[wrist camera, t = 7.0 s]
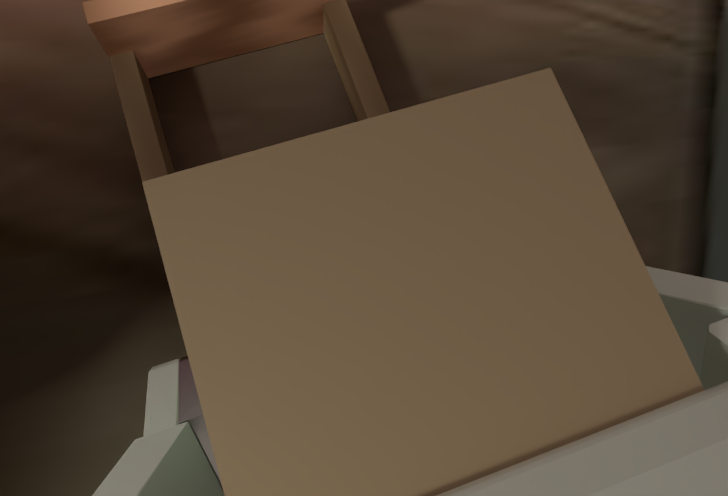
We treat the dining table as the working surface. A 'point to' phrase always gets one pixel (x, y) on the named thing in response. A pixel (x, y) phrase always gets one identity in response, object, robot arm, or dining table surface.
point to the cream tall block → (412, 298)
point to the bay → (216, 52)
